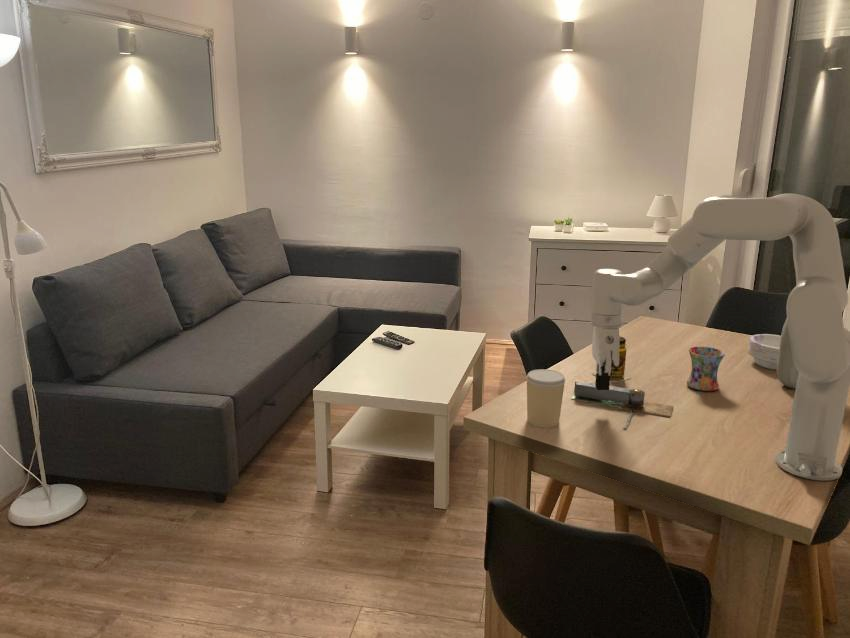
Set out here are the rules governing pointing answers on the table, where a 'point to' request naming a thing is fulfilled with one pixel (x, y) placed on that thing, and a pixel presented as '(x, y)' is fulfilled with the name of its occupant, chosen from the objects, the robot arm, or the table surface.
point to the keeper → (592, 400)
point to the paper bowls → (765, 350)
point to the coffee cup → (544, 397)
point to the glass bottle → (786, 361)
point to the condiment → (618, 372)
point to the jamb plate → (648, 410)
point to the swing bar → (610, 394)
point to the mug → (704, 368)
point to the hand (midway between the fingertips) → (602, 388)
